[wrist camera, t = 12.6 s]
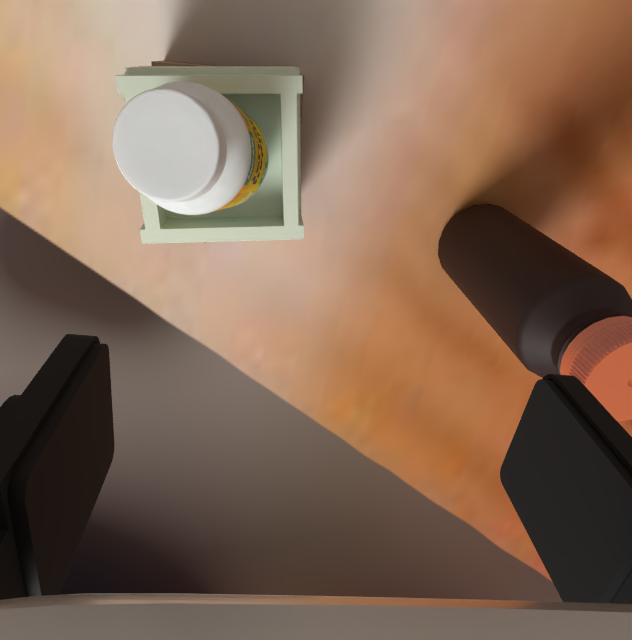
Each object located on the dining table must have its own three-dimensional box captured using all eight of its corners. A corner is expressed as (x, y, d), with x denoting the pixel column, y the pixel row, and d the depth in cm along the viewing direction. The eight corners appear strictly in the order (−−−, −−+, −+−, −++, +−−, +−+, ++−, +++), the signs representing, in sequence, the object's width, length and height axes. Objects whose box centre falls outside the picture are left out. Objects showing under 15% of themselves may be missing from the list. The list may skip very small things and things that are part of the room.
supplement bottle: (159, 120, 27) (69, 88, 18) (254, 92, 27) (211, 43, 18) (191, 219, 29) (121, 235, 19) (282, 193, 28) (256, 198, 19)
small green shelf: (294, 66, 31) (302, 68, 25) (296, 213, 35) (303, 244, 29) (142, 66, 30) (113, 68, 24) (162, 216, 34) (142, 248, 28)
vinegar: (445, 199, 40) (590, 316, 22) (527, 205, 41) (729, 321, 23) (429, 279, 43) (545, 437, 25) (505, 283, 44) (669, 438, 26)
